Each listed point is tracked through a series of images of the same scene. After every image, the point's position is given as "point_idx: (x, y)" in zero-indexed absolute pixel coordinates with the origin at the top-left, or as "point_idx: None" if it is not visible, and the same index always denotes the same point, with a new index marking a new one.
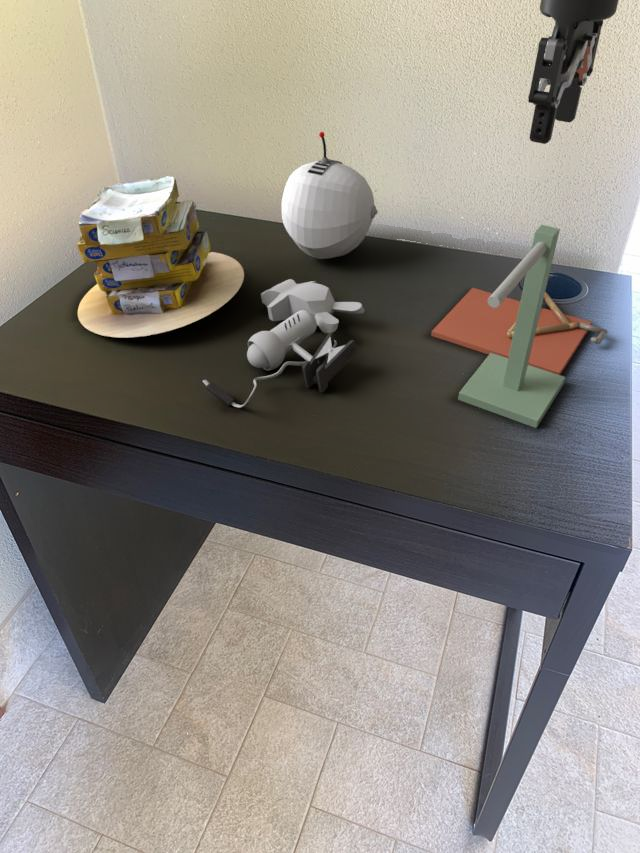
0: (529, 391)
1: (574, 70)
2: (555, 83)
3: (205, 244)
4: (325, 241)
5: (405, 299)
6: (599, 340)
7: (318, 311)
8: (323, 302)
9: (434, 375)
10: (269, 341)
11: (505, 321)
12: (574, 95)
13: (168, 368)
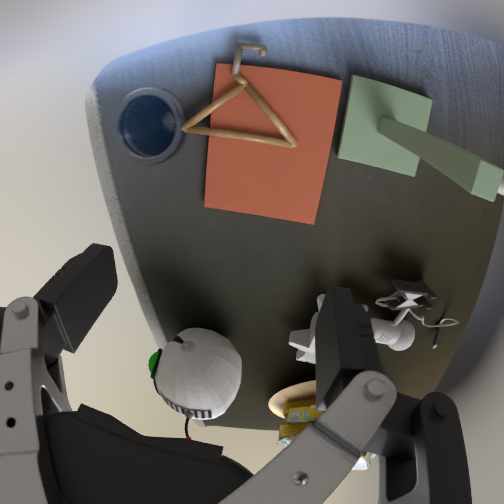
0: (392, 109)
1: (281, 488)
2: (465, 464)
3: (300, 415)
4: (237, 358)
5: (253, 262)
6: (265, 47)
7: None
8: None
9: (380, 202)
10: (409, 339)
11: (260, 154)
12: (71, 300)
13: (404, 366)
